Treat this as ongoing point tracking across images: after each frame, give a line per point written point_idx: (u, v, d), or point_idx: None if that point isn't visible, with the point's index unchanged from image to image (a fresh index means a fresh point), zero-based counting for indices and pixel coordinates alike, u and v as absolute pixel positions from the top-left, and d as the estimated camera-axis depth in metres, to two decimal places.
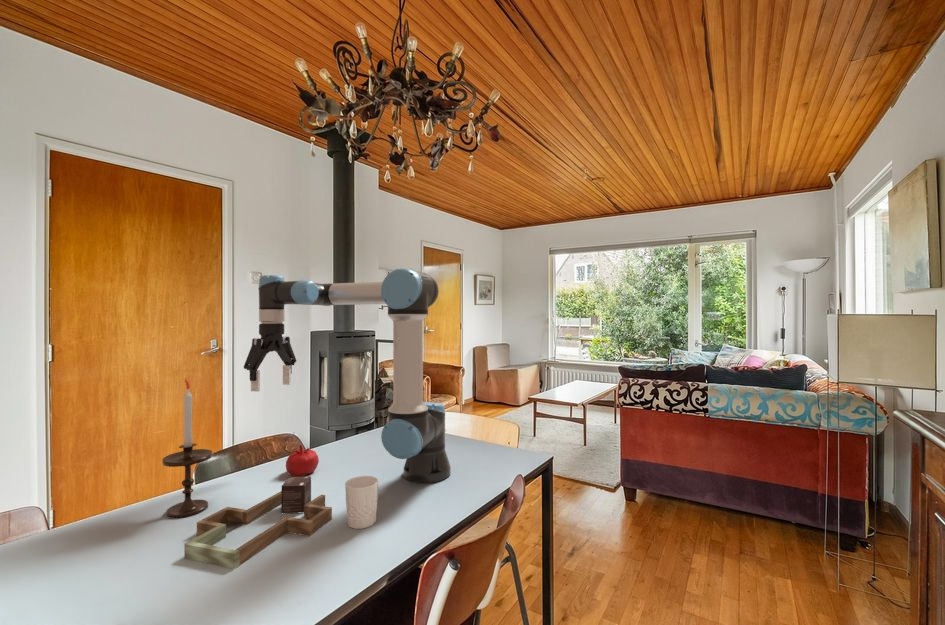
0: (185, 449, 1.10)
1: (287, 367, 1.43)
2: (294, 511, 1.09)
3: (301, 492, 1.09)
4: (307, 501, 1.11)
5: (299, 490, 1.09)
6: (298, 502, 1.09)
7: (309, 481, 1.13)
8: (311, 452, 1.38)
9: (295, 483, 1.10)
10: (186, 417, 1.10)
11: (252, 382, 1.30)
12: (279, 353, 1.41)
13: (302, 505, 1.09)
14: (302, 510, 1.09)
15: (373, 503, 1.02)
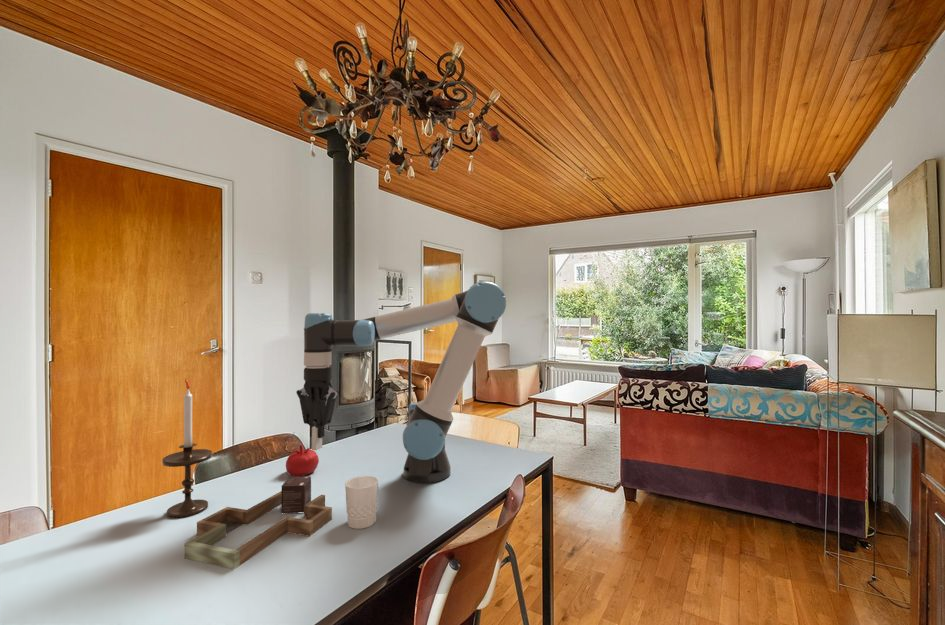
0: (185, 449, 1.10)
1: None
2: (294, 511, 1.09)
3: (301, 492, 1.09)
4: (307, 501, 1.11)
5: (299, 490, 1.09)
6: (298, 502, 1.09)
7: (309, 481, 1.13)
8: (311, 452, 1.38)
9: (295, 483, 1.10)
10: (186, 417, 1.10)
11: None
12: None
13: (302, 505, 1.09)
14: (302, 510, 1.09)
15: (373, 503, 1.02)
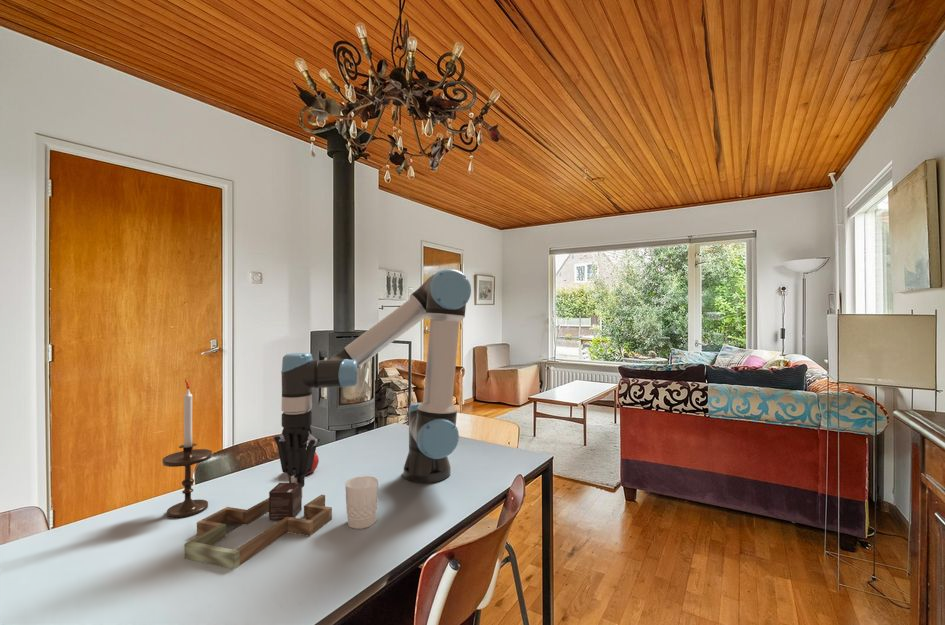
0: (185, 449, 1.10)
1: None
2: None
3: (289, 500, 1.04)
4: (296, 508, 1.07)
5: (287, 497, 1.04)
6: (286, 510, 1.04)
7: (299, 487, 1.09)
8: None
9: (283, 489, 1.06)
10: (186, 417, 1.10)
11: None
12: None
13: (290, 513, 1.04)
14: None
15: (373, 503, 1.02)
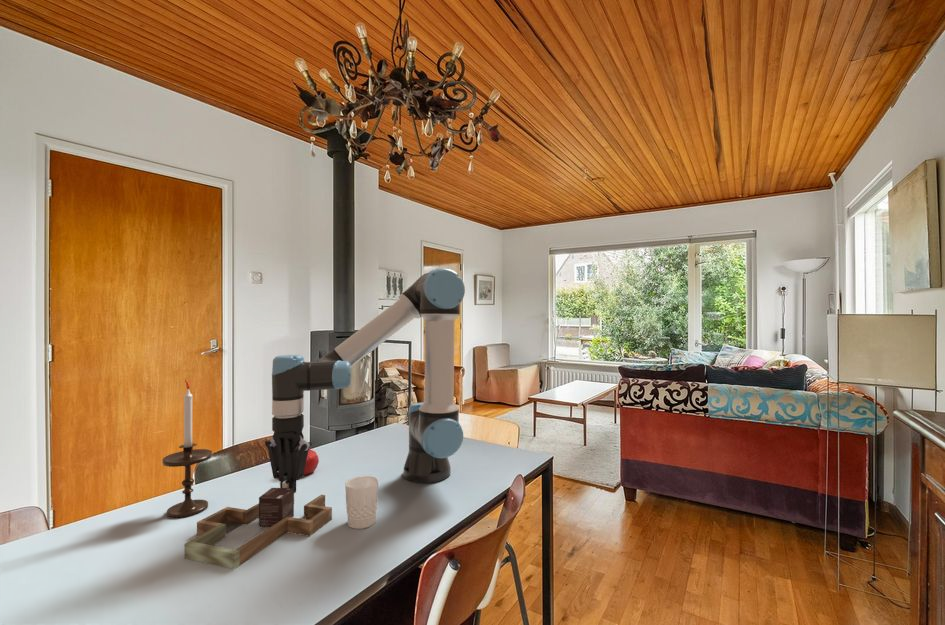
0: (185, 449, 1.10)
1: None
2: None
3: (278, 506, 1.01)
4: (287, 515, 1.03)
5: (276, 503, 1.01)
6: (275, 516, 1.01)
7: (290, 493, 1.05)
8: (311, 452, 1.38)
9: (273, 495, 1.03)
10: (186, 417, 1.10)
11: None
12: None
13: (279, 520, 1.01)
14: None
15: (373, 503, 1.02)
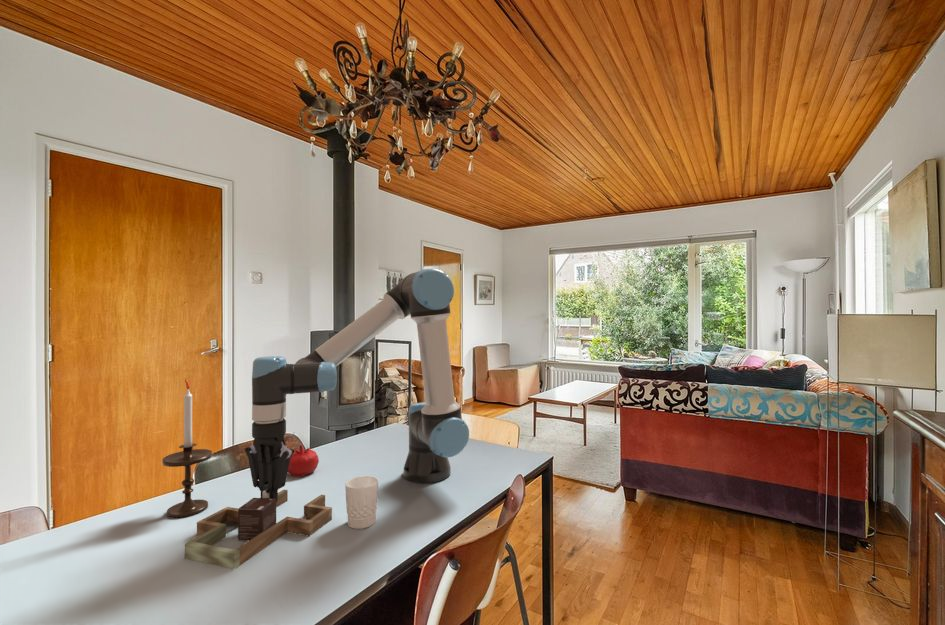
0: (185, 449, 1.10)
1: None
2: None
3: (259, 518, 0.95)
4: (268, 527, 0.97)
5: (257, 515, 0.95)
6: (255, 529, 0.95)
7: (272, 504, 0.99)
8: (311, 452, 1.38)
9: (254, 506, 0.96)
10: (186, 417, 1.10)
11: None
12: None
13: (260, 532, 0.95)
14: None
15: (373, 503, 1.02)
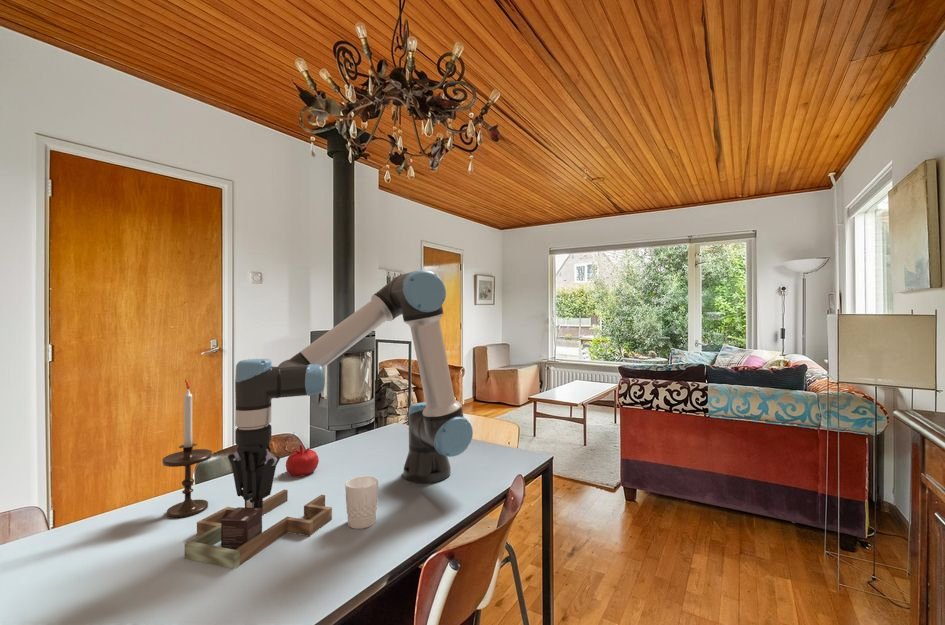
0: (185, 449, 1.10)
1: None
2: None
3: (243, 529, 0.90)
4: None
5: (241, 526, 0.90)
6: (240, 541, 0.90)
7: (258, 514, 0.94)
8: (311, 452, 1.38)
9: (238, 516, 0.92)
10: (186, 417, 1.10)
11: None
12: None
13: None
14: None
15: (373, 503, 1.02)
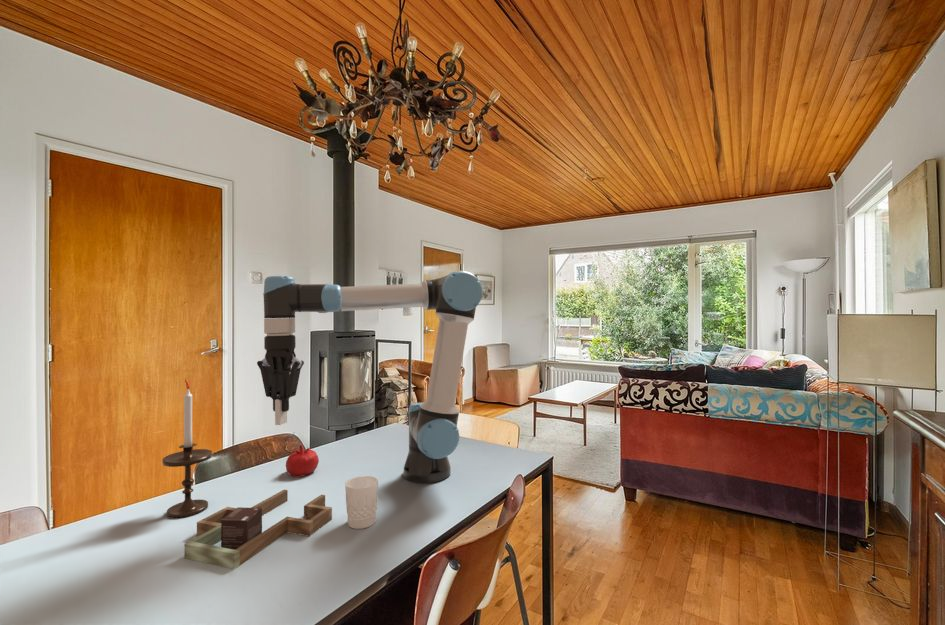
0: (185, 449, 1.10)
1: None
2: None
3: (243, 529, 0.90)
4: None
5: (241, 526, 0.90)
6: (239, 541, 0.90)
7: (258, 514, 0.94)
8: (311, 452, 1.38)
9: (238, 516, 0.92)
10: (186, 417, 1.10)
11: None
12: None
13: None
14: None
15: (373, 503, 1.02)
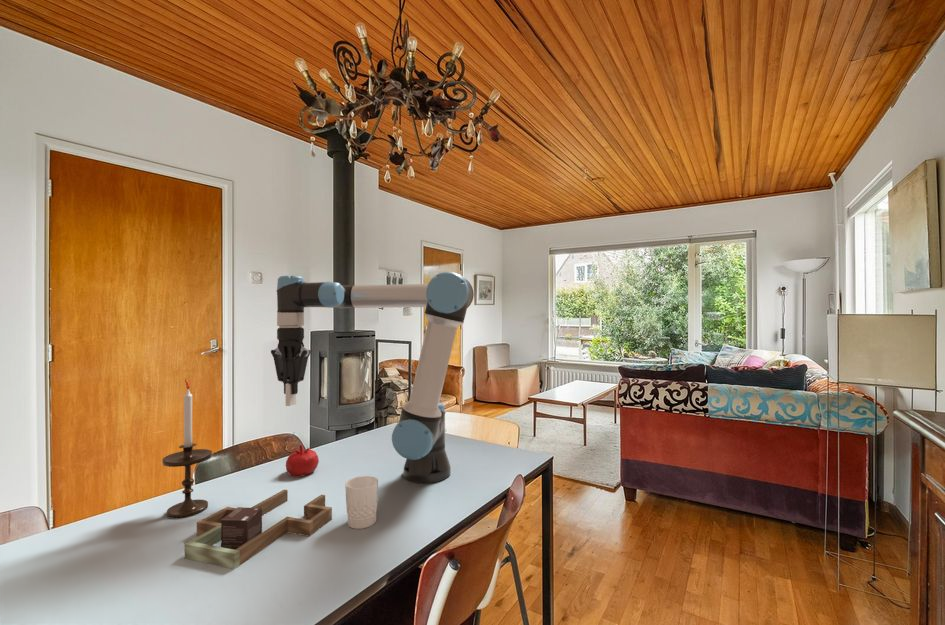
0: (185, 449, 1.10)
1: None
2: None
3: (243, 529, 0.90)
4: None
5: (241, 526, 0.90)
6: (239, 541, 0.90)
7: (258, 514, 0.94)
8: (311, 452, 1.38)
9: (238, 516, 0.92)
10: (186, 417, 1.10)
11: None
12: None
13: None
14: None
15: (373, 503, 1.02)
